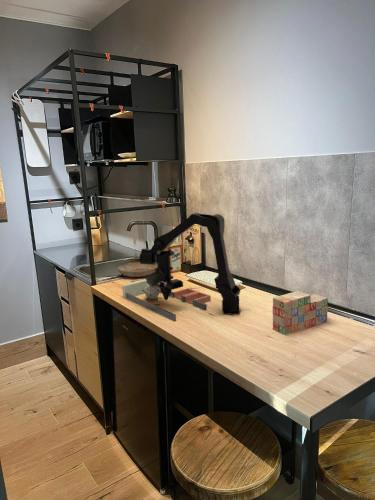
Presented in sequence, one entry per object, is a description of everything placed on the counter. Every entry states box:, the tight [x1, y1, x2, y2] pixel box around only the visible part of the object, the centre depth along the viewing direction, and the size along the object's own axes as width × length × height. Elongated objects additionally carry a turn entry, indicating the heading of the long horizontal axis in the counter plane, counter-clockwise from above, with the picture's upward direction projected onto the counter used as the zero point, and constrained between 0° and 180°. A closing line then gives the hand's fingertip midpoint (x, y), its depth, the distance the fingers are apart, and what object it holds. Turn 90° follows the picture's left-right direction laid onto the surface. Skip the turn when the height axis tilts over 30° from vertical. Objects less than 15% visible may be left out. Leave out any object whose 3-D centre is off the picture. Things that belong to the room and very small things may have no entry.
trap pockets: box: [173, 287, 212, 306], centre depth 168 cm, size 16×9×2 cm, turn 39°
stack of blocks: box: [272, 290, 329, 336], centre depth 135 cm, size 21×6×12 cm, turn 120°
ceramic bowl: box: [117, 261, 157, 278], centre depth 213 cm, size 23×24×5 cm
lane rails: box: [125, 290, 208, 322], centre depth 163 cm, size 38×17×2 cm, turn 39°
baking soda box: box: [162, 242, 184, 274], centre depth 216 cm, size 10×6×16 cm
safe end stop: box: [121, 278, 147, 299], centre depth 178 cm, size 2×17×6 cm, turn 129°
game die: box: [142, 283, 161, 301], centre depth 170 cm, size 9×8×10 cm
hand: (166, 299), depth 162 cm, fingers closed
